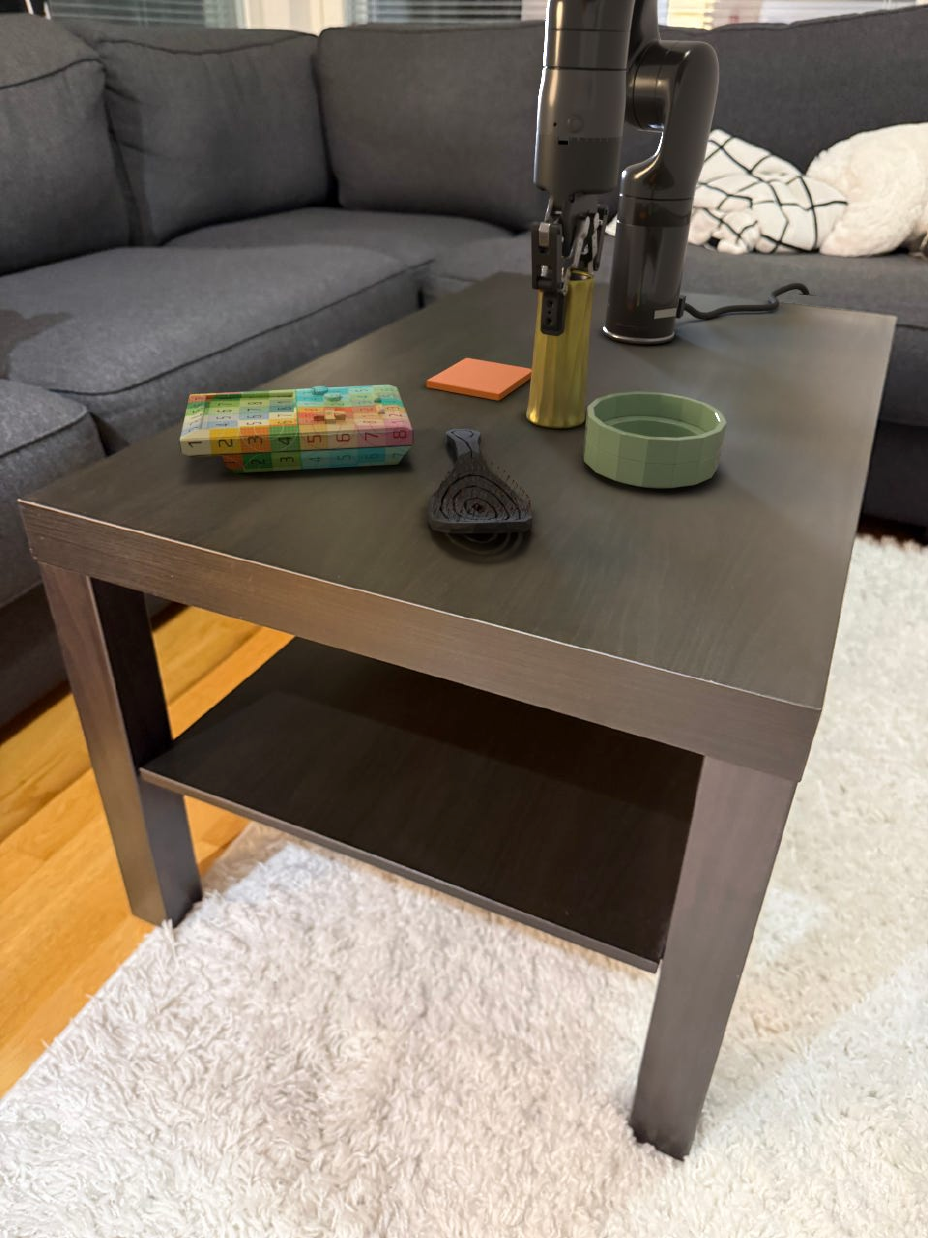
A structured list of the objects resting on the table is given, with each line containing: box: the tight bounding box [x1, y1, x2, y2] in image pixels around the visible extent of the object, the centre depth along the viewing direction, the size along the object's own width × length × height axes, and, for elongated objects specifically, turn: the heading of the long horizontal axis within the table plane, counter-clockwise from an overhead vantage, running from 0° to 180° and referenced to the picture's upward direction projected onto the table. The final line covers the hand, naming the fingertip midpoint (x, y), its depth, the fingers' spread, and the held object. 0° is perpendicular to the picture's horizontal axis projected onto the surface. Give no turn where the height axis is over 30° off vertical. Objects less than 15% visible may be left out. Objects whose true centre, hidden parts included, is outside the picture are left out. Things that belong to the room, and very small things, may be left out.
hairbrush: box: [427, 428, 533, 534], centre depth 75 cm, size 8×4×25 cm
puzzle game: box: [178, 384, 414, 474], centre depth 81 cm, size 12×5×20 cm
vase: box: [525, 269, 596, 430], centre depth 87 cm, size 6×6×14 cm
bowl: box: [582, 390, 727, 489], centre depth 79 cm, size 12×12×5 cm
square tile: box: [426, 357, 532, 402], centre depth 100 cm, size 10×9×1 cm
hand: (563, 326), depth 85 cm, fingers closed on vase, 5 cm apart
